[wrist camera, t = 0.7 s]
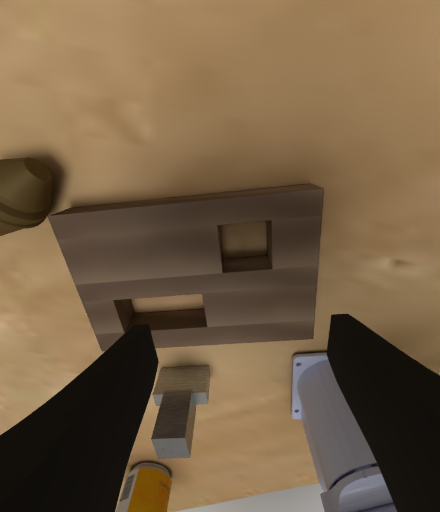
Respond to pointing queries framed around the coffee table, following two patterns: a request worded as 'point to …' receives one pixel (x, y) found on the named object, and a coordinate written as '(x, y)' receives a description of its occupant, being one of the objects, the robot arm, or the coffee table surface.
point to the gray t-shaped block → (178, 408)
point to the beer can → (146, 489)
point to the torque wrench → (23, 194)
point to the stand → (197, 265)
